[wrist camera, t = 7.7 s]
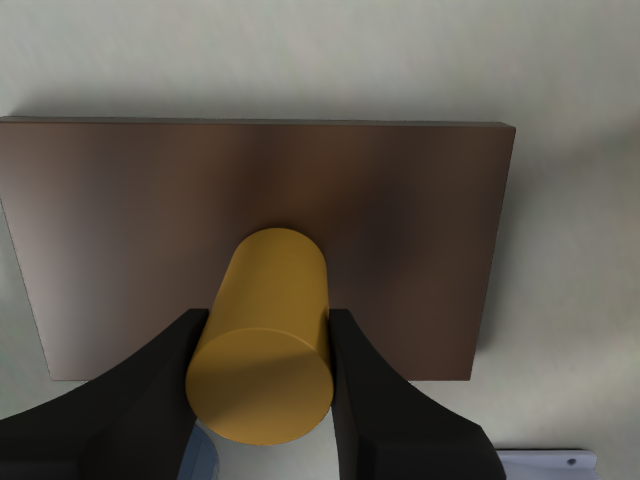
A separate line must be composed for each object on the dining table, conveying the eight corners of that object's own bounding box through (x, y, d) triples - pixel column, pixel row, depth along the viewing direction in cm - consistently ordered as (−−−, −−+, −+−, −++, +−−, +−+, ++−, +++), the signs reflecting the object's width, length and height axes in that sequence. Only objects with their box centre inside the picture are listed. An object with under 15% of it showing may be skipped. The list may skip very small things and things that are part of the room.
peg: (327, 227, 17) (336, 328, 11) (325, 313, 19) (332, 446, 12) (227, 226, 17) (176, 327, 11) (233, 313, 19) (192, 446, 12)
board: (501, 121, 18) (517, 126, 16) (460, 361, 22) (470, 381, 21) (4, 115, 17) (-23, 120, 16) (67, 361, 22) (51, 381, 21)
